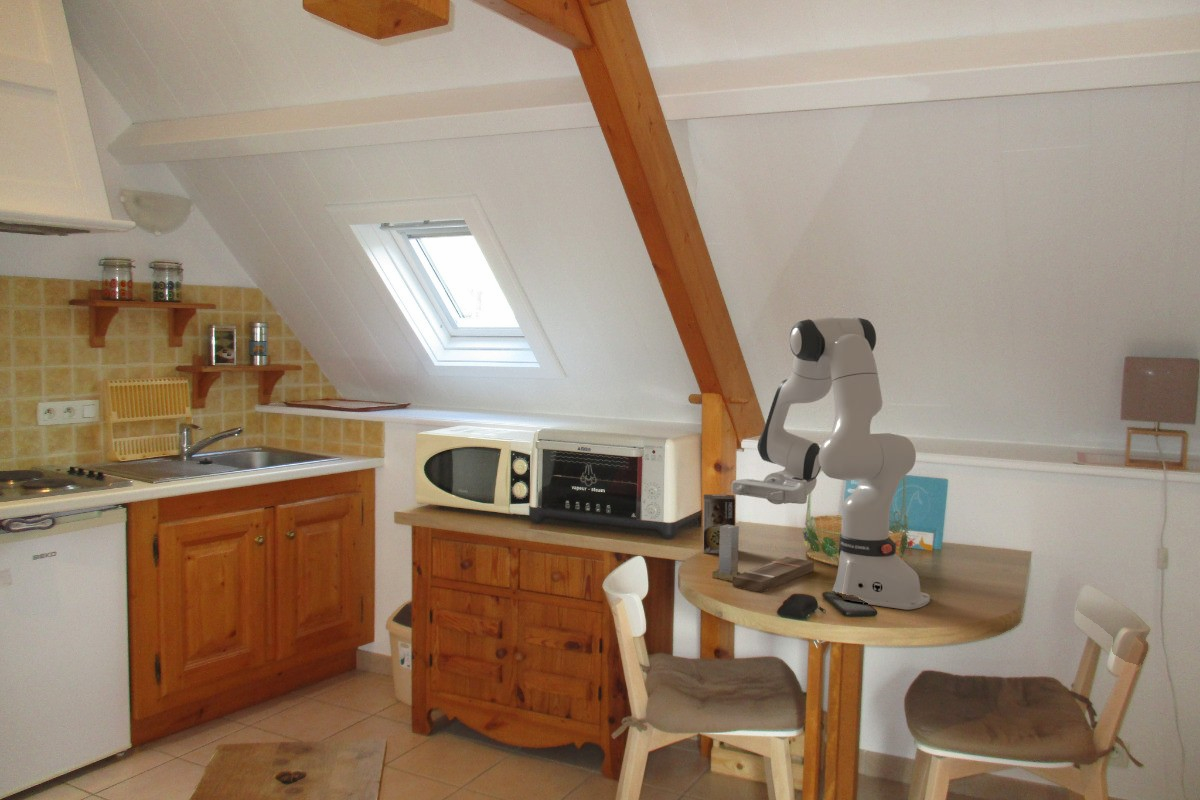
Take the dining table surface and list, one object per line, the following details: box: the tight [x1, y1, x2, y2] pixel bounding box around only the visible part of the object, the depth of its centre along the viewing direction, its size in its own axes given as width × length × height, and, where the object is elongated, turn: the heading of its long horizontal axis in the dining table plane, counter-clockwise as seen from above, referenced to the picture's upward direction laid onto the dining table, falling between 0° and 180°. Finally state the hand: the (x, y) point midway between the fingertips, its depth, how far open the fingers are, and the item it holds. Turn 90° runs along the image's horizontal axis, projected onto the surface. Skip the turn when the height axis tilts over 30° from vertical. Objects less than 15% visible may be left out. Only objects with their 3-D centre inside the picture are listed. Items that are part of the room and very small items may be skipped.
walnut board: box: [732, 556, 815, 593], centre depth 240 cm, size 8×28×3 cm, turn 141°
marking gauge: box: [711, 525, 742, 582], centre depth 239 cm, size 7×4×14 cm, turn 51°
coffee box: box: [702, 494, 736, 554], centre depth 269 cm, size 9×6×16 cm
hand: (753, 494), depth 247 cm, fingers open, 8 cm apart
